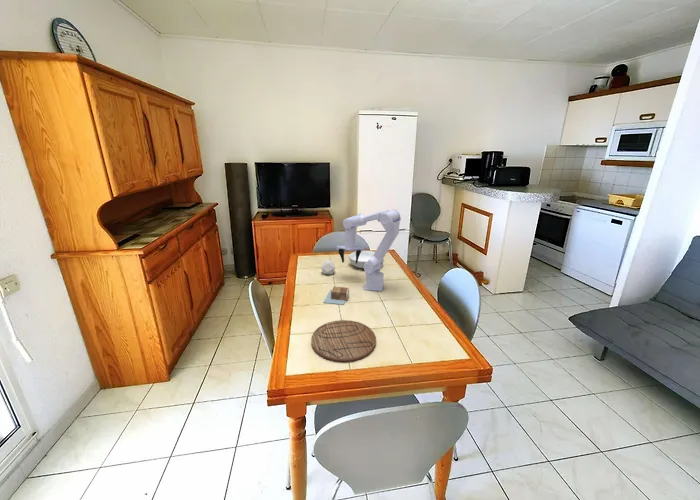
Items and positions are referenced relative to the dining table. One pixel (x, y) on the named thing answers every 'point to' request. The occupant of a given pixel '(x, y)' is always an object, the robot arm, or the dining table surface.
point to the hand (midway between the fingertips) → (349, 262)
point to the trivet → (343, 341)
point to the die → (328, 267)
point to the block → (340, 293)
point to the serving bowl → (361, 258)
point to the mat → (333, 300)
